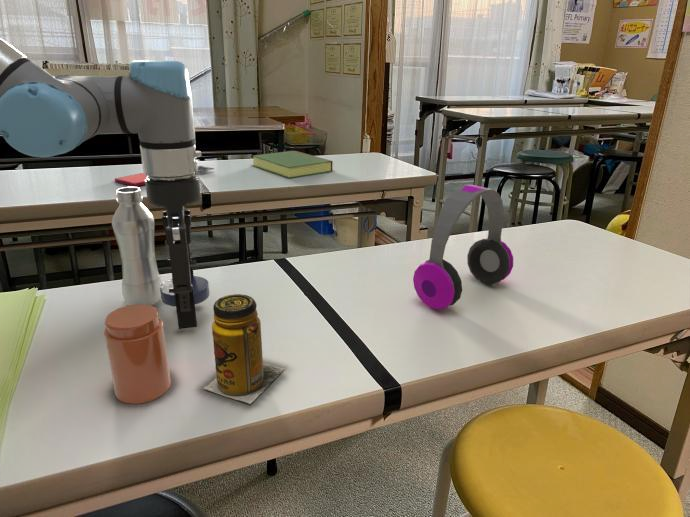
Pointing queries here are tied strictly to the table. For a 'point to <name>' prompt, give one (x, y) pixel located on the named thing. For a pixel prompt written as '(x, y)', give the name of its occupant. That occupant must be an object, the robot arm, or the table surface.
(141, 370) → the jar
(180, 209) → the robot arm
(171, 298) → the lid
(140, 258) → the plastic bottle
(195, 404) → the table surface
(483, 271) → the headphones
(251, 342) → the condiment
